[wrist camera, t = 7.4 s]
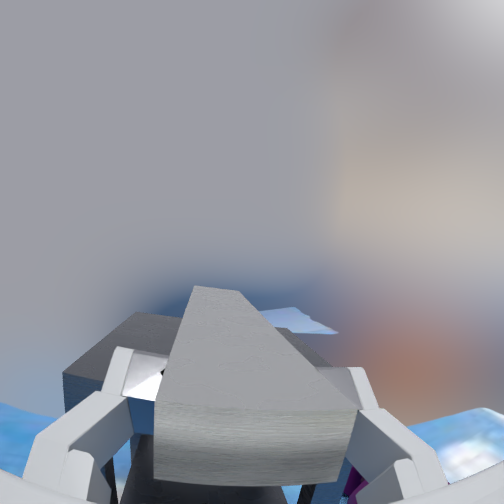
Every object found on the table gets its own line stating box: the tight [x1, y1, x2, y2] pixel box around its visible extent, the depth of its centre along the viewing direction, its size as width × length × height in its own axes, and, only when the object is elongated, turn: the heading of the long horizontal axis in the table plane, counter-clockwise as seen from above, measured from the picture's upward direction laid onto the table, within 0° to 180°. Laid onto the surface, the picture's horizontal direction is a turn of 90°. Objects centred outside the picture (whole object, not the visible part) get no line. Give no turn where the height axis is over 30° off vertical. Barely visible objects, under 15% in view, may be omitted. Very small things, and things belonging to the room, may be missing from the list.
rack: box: [63, 312, 352, 504], centre depth 23 cm, size 16×20×26 cm
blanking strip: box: [154, 286, 358, 486], centre depth 17 cm, size 4×24×2 cm, turn 8°
